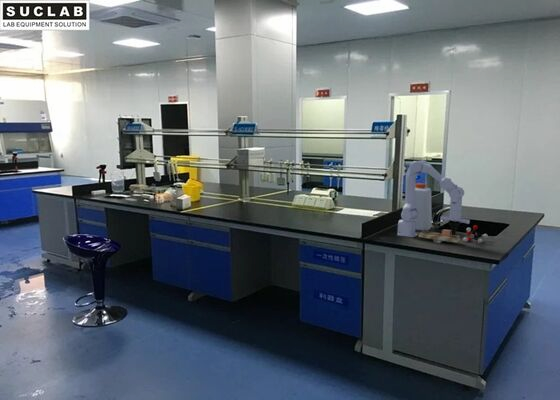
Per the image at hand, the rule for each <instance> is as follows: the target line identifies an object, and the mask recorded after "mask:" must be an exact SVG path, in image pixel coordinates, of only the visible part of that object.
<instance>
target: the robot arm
mask: <svg viewBox="0 0 560 400" xmlns="http://www.w3.org/2000/svg"><path fill="white" fill-rule="evenodd" d="M421 173H424V174H429V176H431V177H432V178H433V179H435V180H436V181H437V182H438V184H439V187H441V188H442V189H443V190H444V191H445V192H447V194H448V196H449V197H450V202H449V203H450V204H449V215H448V216H443V215H441V216H440V221H447V222H448V225H449V227H450V230H451V235H456V234H457V230H458V228H459V226H460V225H461V223H462V224H463V223H464V224H467V225H469V224H470V223H471V222H470V221H471V220H470V219H468V218H462V208H463V207H462V205H463V197H464V195H465V190H464V188H463V187H461V186H458V184H455V183H454V182H453V181H452V179H451V178H449V177H444V176H443V175H442V174H441V173H439V171H437V170H436V169H435V168H434V167H433V166H432V165H431V163H430V162H428V161H427V160H425V159H421V160H413V162H411V163H410V164H409V166H408V168H407V170H406V172H405V194H404V195H405V199H404V205H403V207H402V210H401V213H400V217H401V219H399V220H398V223H397V233H396V235H397V236H400V237H405V238H406V237H407V238H414V237H416V236H418V233H416V230H415V227H416V218H417V216H418V211H417V206H416V205H415V184H416V181H417V180H416V178H417V177H418V175H420V174H421ZM456 236H457V235H456Z"/></svg>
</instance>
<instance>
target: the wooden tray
mask: <svg viewBox="0 0 560 400" xmlns="http://www.w3.org/2000/svg"><path fill="white" fill-rule="evenodd" d="M418 237H419V238H423V239H430V240H433V243H435V242H436V243H437V244H441V243H442V242H450V243H457V242H459V241H460V235H452V234H451V237H447V236H442V232H441V233H440V232H435V231H429V230H428V231H427V230H422V231H419V233H418Z"/></svg>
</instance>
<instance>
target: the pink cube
mask: <svg viewBox="0 0 560 400" xmlns="http://www.w3.org/2000/svg"><path fill="white" fill-rule="evenodd" d="M441 233H442V236H447V237H451V235H452V232H451V229H442V230H441Z"/></svg>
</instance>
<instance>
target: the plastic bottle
mask: <svg viewBox="0 0 560 400" xmlns="http://www.w3.org/2000/svg"><path fill="white" fill-rule="evenodd" d="M426 185H427V184H426V183H423V182H422V183H421V182H417V183H416V184H415V205H416V206H417V211H418V216H417V218H416V227H415V231H419V232H421V231H422V230H427V231H428V232H429V231H430V229H431V228H432V225H433V224H432V220H433V219H432V214H433V213H432V189H431V188H430V187H426Z"/></svg>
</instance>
